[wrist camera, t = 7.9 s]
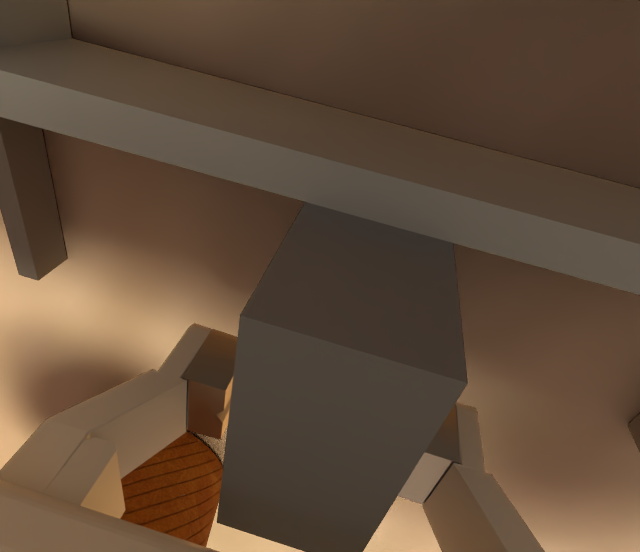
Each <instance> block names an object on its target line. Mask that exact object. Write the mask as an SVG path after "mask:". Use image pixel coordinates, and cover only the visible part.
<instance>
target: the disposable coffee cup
mask: <svg viewBox="0 0 640 552" xmlns="http://www.w3.org/2000/svg"><path fill="white" fill-rule="evenodd" d="M222 472H223V467H222V465H221V463H220V461H219V460H218V458H217V457H216V455H215V454H214V453H213V452H212V451H211V450H210V449H209V448H208V447H207V446H206V445H205V444H204V443H203V442H202V441H201V440H199V439H198V438H197V437H195V436H193V435H192V434H190V433H189V432H187V431H186V433H184V434H183V435H181V436H180V437H179V438H177V439H176V440H174V441H173V442H172V443H170V444H169V445H167V446H166V447H165V448H163V449H162V450H161V451H159V452H158V453H156V454H155V455H154V456H152V457H151V458H149V459H148V460H147V461H145V462H144V463H142V464H141V465H140V466H138V467H137V468H135V469H134V470H133V471H131V472H130V473H129V474H127V475H126V476H124V477H123V478H122V479H121V484H122V490H123V497H124V503H125V509H126V510H125V511H124V513H123V515H122V517H121V518H120V519H122V520H125V521H128V522H131V523H134V524H137V525H140V526H143V527H146V528H149V529H152V530H155V531H158V532H161V533H164V534H168V535H171V536H174V537H177V538H180V539H183V540H186V541H189V542H192V543H195V544H198V545H201V546H204V547H206V545H207V541H208V538H209V534H210V530H211V527H212V523H213V520H214V516H215V513H216V509H217V506H218V502H219V498H220V490H221V481H222Z"/></svg>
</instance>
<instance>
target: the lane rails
mask: <svg viewBox="0 0 640 552" xmlns="http://www.w3.org/2000/svg"><path fill="white" fill-rule="evenodd" d="M0 209H1V213H2V216H3V220H4V223H5V227H6V231H7V234H8V238H9V241H10V245H11V248H12V252H13V255H14V259H15V262H16V266H17V269H18V273H19V275H22V276H25V277H28V278H32V279H35V280H40V279H41V278H42V277H44V276H45V275H46V274H48V273H49V272H50V271H52V270H53V269H54V268H56V267H57V266H58V265H60V264H61V263H62V262H64V261H65V260H66V259H67V256H66V250H65V245H64V240H63V235H62V230H61V225H60V219H59V214H58V209H57V204H56V199H55V194H54V189H53V183H52V178H51V173H50V168H49V163H48V158H47V153H46V147H45V142H44V137H43V132H42V128H39V127H35V126H32V125H28V124H24V123H21V122H17V121H14V120H10V119H6V118H3V117H0ZM628 427H629V430H630V432H631V434H632V436H633V438H634V440H635V443H636V445H637V447H638V449H639V451H640V414H639V415H638V416H637V417H636V418H635V419H633V420H632V421H631V422H630V423H629V424H628Z"/></svg>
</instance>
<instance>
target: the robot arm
mask: <svg viewBox="0 0 640 552" xmlns="http://www.w3.org/2000/svg"><path fill="white" fill-rule="evenodd" d="M237 339H238V337H236V336H233V335H230V334H227V333H224V332H221V331H218V330H215V329H211V328H208V327H205V326H202V325H199V324H196V323H194V324H193V325H191V326H190V327H189V328H188V329H187V331H186V332H185V334H184V335H183V336H182V338H181V339H180V341H179V342H178V343H177V345H176V346H175V348H174V349H173V350H172V352H171V353H170V355H169V356H168V357H167V359H166V360H165V362H164V363H163V364H162V366H161V367H160V369H159V370H158V371H156V370H150V371H147V372H145V373H143V374H141V375H139V376H137V377H135V378H132V379H130V380H128V381H126V382H124V383H122V384H120V385H118V386H115V387H113V388H111V389H109V390H107V391H105V392H103V393H101V394H98V395H96V396H94V397H92V398H90V399H88V400H86V401H83V402H81V403H79V404H77V405H75V406H73V407H71V408H69V409H66V410H64V411H62V412H60V413H58V414H56V415H54V416H52V417H49V418H47V419H46V420H45V421H44V422H43V423H42V424H41V425H40V426H39V428H38V429H37V430H36V431H35V432H34V433H33V434H32V435H31V436H30V438H29V439H28V440H27V441H26V442H25V443H24V444H23V445H22V446H21V448H20V449H19V450H18V451H17V452H16V453H15V454H14V455H13V457H12V458H11V459H10V460H9V461H8V462H7V463H6V464H5V465H4V467H3V468H2V469H1V470H0V552H219V551H216V550H213V549H210V548H207V547H204V546H201V545H198V544H195V543H192V542H189V541H186V540H183V539H180V538H177V537H174V536H171V535H168V534H164V533H161V532H158V531H155V530H152V529H149V528H146V527H143V526H140V525H137V524H134V523H131V522H128V521H125V520H122V519H120V518H121V517H122V515H123V513H124V511H125V510H126V509H125V503H124V497H123V490H122V484H121V479H122V478H123V477H124V476H126V475H127V474H129V473H130V472H131V471H133V470H134V469H135V468H137V467H138V466H140V465H141V464H142V463H144V462H145V461H147V460H148V459H149V458H151V457H152V456H154V455H155V454H156V453H158V452H159V451H161V450H162V449H163V448H165V447H166V446H167V445H169V444H170V443H172V442H173V441H174V440H176V439H177V438H179V437H180V436H181V435H183V434H184V433H186V430H188V431H192V432H195V433H199V434H202V435H206V436H209V437H213V438H216V439H220V440H221V438H222V436H223V434H224V432H225V430H226V427H227V425H228V419H229V410H230V401H231V392H232V383H233V374H234V366H235V357H236V348H237ZM398 496H399V497H402V498H405V499H408V500H411V501H414V502H417V503H420V504H423V506H422V507H423V509H424V511H425V513H426V516H427V518H428V520H429V523H430V525H431V527H432V530H433V532H434V534H435V537H436V539H437V541H438V544H439V546H440V548H441V550H442V552H545V551H544V550H543V548H542V547H541V545H540V544H539V542H538V541H537V540H536V538H535V537H534V535H533V534H532V532H531V531H530V529H529V528H528V526H527V525H526V523H525V522H524V521H523V519H522V518H521V516H520V515H519V513H518V512H517V510H516V509H515V507H514V506H513V505H512V503H511V502H510V500H509V499H508V497H507V496H506V494H505V493H504V491H503V490H502V488H501V487H500V486H499V484H498V483H497V481H496V480H495V478H494V477H493V475H492V474H489V473H486V472H485V466H484V458H483V450H482V442H481V435H480V427H479V419H478V412H477V410H476V408H474V407H471V406H468V405H464V404H461V403H457V402H456V403H455V404H454V406H453V408H452V409H451V411H450V412H449V414H448V416H447V417H446V419H445V420H444V422H443V424H442V425H441V427H440V428H439V430H438V432H437V433H436V435H435V436H434V438H433V440H432V441H431V443H430V444H429V446H428V448H427V449H426V451H425V452H424V454H423V456H422V457H421V459H420V460H419V462H418V464H417V465H416V467H415V468H414V470H413V472H412V473H411V475H410V476H409V478H408V480H407V481H406V483H405V485H404V486H403V488H402V489H401V491H400V493H399V494H398Z"/></svg>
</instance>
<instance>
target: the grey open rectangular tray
mask: <svg viewBox="0 0 640 552" xmlns="http://www.w3.org/2000/svg"><path fill="white" fill-rule="evenodd" d="M0 117H3V118H6V119H10V120H14V121H17V122H21V123H24V124H28V125H32V126H35V127H39V128H42V129H46V130H50V131H53V132H57V133H60V134H64V135H67V136H71V137H75V138H78V139H82V140H85V141H89V142H93V143H96V144H100V145H103V146H107V147H110V148H114V149H118V150H121V151H125V152H128V153H132V154H136V155H139V156H143V157H146V158H150V159H153V160H157V161H161V162H164V163H168V164H171V165H175V166H179V167H182V168H186V169H189V170H193V171H197V172H200V173H204V174H207V175H211V176H214V177H218V178H222V179H225V180H229V181H232V182H236V183H240V184H243V185H247V186H250V187H254V188H257V189H261V190H265V191H268V192H272V193H275V194H279V195H283V196H286V197H290V198H293V199H297V200H300V201H304V202H305V203H304V205H303V207H302V209H301V210H300V212H299V214H298V216H297V217H296V219H295V221H294V223H293V224H292V226H291V228H290V230H289V231H288V233H287V235H286V236H285V238H284V240H283V242H282V243H281V245H280V247H279V249H278V250H277V252H276V254H275V256H274V257H273V259H272V261H271V263H270V264H269V266H268V268H267V270H266V271H265V273H264V275H263V277H262V278H261V280H260V282H259V283H258V285H257V287H256V289H255V290H254V292H253V294H252V296H251V297H250V299H249V301H248V303H247V304H246V306H245V308H244V310H243V311H242V313H241V315H240V321H239V330H238V339H237V348H236V357H235V366H234V374H233V383H232V392H231V401H230V410H229V419H228V428H227V437H226V445H225V454H224V463H223V472H222V481H221V490H220V499H219V508H218V517H217V523H220V524H223V525H226V526H229V527H232V528H235V529H238V530H241V531H244V532H247V533H250V534H253V535H256V536H259V537H262V538H265V539H268V540H271V541H275V542H278V543H281V544H284V545H287V546H290V547H293V548H296V549H299V550H302V551H305V552H363V550H364V549H365V547H366V545H367V544H368V542H369V541H370V539H371V537H372V536H373V534H374V533H375V531H376V529H377V528H378V526H379V525H380V523H381V521H382V520H383V518H384V517H385V515H386V513H387V512H388V510H389V509H390V507H391V505H392V504H393V502H394V501H395V499H396V497H397V496H398V494H399V493H400V491H401V489H402V488H403V486H404V485H405V483H406V481H407V480H408V478H409V476H410V475H411V473H412V472H413V470H414V468H415V467H416V465H417V464H418V462H419V460H420V459H421V457H422V456H423V454H424V452H425V451H426V449H427V448H428V446H429V444H430V443H431V441H432V440H433V438H434V436H435V435H436V433H437V432H438V430H439V428H440V427H441V425H442V424H443V422H444V420H445V419H446V417H447V416H448V414H449V412H450V411H451V409H452V408H453V406H454V404H455V403H456V401H457V400H458V398H459V396H460V395H461V393H462V391H463V390H464V388H465V387H466V385H467V383H468V381H467V371H466V362H465V352H464V342H463V333H462V323H461V314H460V304H459V294H458V285H457V275H456V265H455V256H454V246H453V243H455V244H458V245H462V246H465V247H469V248H473V249H476V250H480V251H483V252H487V253H491V254H494V255H498V256H501V257H505V258H508V259H512V260H516V261H519V262H523V263H526V264H530V265H534V266H537V267H541V268H544V269H548V270H551V271H555V272H559V273H562V274H566V275H569V276H573V277H577V278H580V279H584V280H587V281H591V282H594V283H598V284H602V285H605V286H609V287H612V288H616V289H620V290H623V291H627V292H630V293H634V294H638V295H640V189H639V188H635V187H632V186H628V185H624V184H620V183H617V182H613V181H609V180H605V179H601V178H598V177H594V176H590V175H586V174H583V173H579V172H575V171H571V170H567V169H564V168H560V167H556V166H552V165H549V164H545V163H541V162H537V161H533V160H530V159H526V158H522V157H518V156H515V155H511V154H507V153H503V152H499V151H496V150H492V149H488V148H484V147H481V146H477V145H473V144H469V143H465V142H462V141H458V140H454V139H450V138H447V137H443V136H439V135H435V134H431V133H428V132H424V131H420V130H416V129H413V128H409V127H405V126H401V125H397V124H394V123H390V122H386V121H382V120H379V119H375V118H371V117H367V116H364V115H360V114H356V113H352V112H348V111H345V110H341V109H337V108H333V107H330V106H326V105H322V104H318V103H314V102H311V101H307V100H303V99H299V98H296V97H292V96H288V95H284V94H280V93H277V92H273V91H269V90H265V89H262V88H258V87H254V86H250V85H246V84H243V83H239V82H235V81H231V80H228V79H224V78H220V77H216V76H212V75H209V74H205V73H201V72H197V71H194V70H190V69H186V68H182V67H178V66H175V65H171V64H167V63H163V62H160V61H156V60H152V59H148V58H144V57H141V56H137V55H133V54H129V53H126V52H122V51H118V50H114V49H111V48H107V47H103V46H99V45H95V44H92V43H88V42H84V41H80V40H77V39H73V38H72V36H71V28H70V21H69V14H68V6H67V0H0Z"/></svg>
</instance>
